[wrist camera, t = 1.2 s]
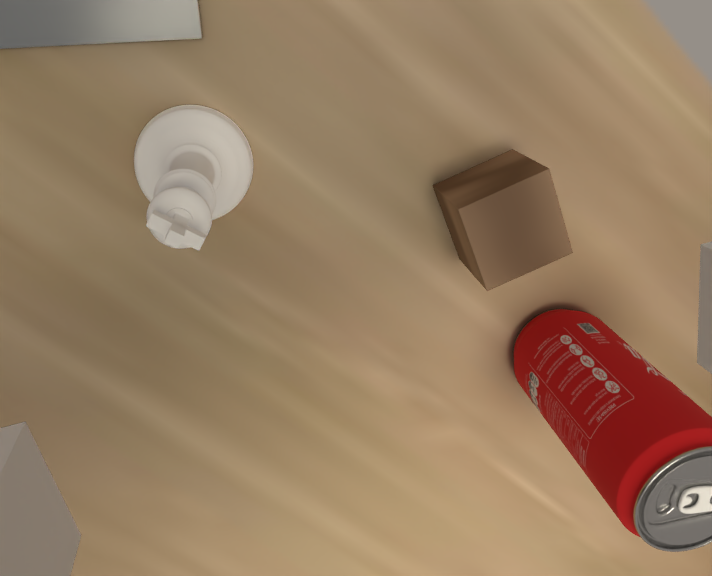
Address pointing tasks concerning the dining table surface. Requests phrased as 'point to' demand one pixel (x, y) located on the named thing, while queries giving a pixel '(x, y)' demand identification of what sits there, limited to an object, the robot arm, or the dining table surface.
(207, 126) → the chess piece
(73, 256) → the dining table surface
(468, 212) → the walnut cube
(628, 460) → the beverage can
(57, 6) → the coaster
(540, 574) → the dining table surface
